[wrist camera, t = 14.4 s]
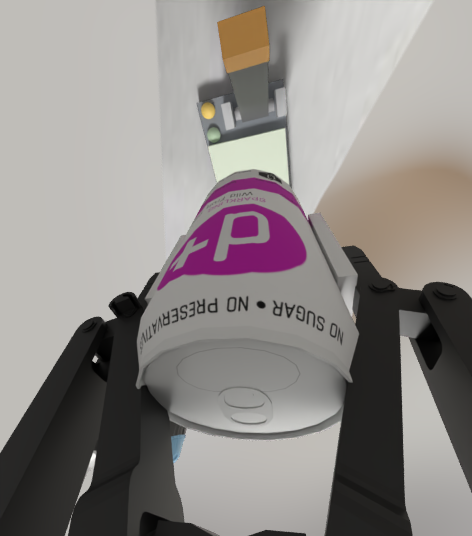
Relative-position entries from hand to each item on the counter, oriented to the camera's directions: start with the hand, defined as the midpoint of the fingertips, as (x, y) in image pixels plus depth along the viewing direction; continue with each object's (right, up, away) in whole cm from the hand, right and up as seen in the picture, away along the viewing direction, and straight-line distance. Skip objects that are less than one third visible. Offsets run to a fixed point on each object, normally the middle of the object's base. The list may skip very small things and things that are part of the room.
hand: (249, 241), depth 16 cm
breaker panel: (+1, +13, +14) cm, 19 cm away
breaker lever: (+1, +16, +9) cm, 18 cm away
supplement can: (0, +3, +4) cm, 4 cm away
